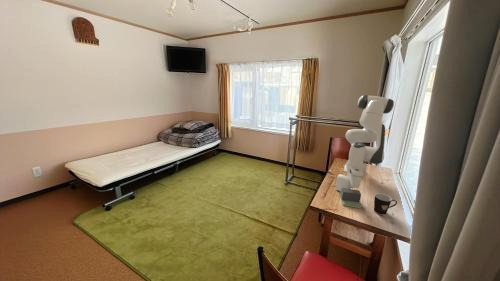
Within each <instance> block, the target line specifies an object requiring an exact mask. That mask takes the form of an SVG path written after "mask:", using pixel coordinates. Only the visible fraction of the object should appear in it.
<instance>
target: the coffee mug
mask: <svg viewBox="0 0 500 281" xmlns="http://www.w3.org/2000/svg"><path fill="white" fill-rule="evenodd" d="M392 202H395V204H392ZM391 204H392V205H391ZM397 204H398V201H397V200H396V199H393V198H392V197H391V196H389V195H387V194H385V193H378V192H377V193H375V194H374V204H373V211H374V212H375V213H376V214H378V215H382V216H386V215H387V213H388V210H389V209H391V208H393V207H395V206H396V205H397ZM390 205H391V206H390Z"/></svg>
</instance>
